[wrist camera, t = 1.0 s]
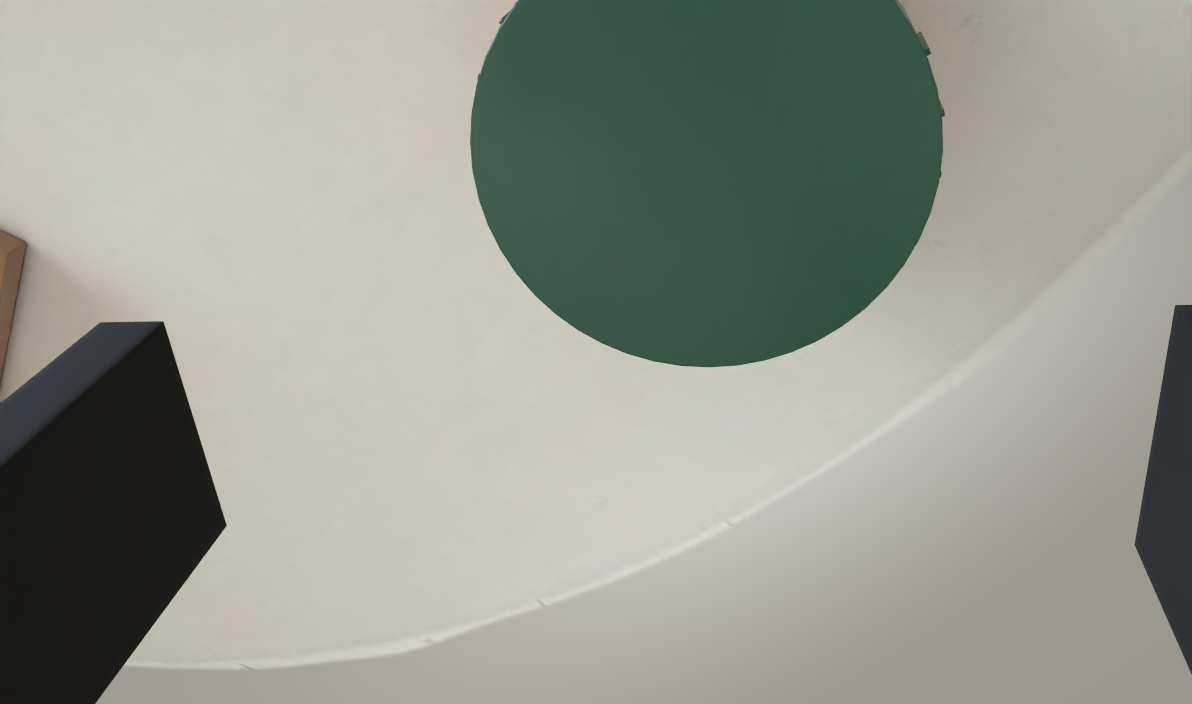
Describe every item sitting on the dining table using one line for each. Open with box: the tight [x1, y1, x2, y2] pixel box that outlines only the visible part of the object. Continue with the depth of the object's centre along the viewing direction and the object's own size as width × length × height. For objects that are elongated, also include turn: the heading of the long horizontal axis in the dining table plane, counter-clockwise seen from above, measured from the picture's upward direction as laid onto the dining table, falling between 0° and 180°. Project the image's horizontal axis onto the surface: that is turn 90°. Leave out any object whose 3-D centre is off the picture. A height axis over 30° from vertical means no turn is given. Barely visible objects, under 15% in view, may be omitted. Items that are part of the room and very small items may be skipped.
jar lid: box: [470, 0, 945, 367], centre depth 20 cm, size 8×8×2 cm
